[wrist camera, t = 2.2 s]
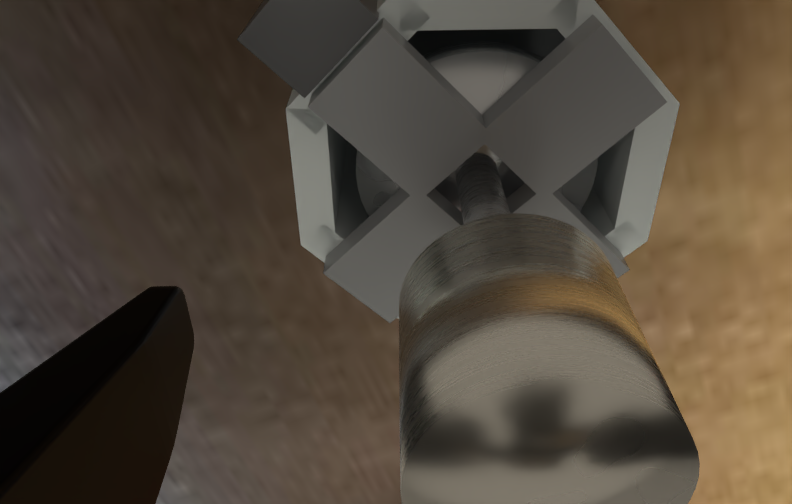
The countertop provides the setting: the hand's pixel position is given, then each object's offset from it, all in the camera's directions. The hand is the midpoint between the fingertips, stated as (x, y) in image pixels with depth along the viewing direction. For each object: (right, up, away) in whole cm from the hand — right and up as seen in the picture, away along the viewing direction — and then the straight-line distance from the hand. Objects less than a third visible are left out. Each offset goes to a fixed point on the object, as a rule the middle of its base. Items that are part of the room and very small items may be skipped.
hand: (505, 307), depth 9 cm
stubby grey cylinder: (0, +3, +4) cm, 5 cm away
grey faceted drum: (0, +5, +8) cm, 9 cm away
